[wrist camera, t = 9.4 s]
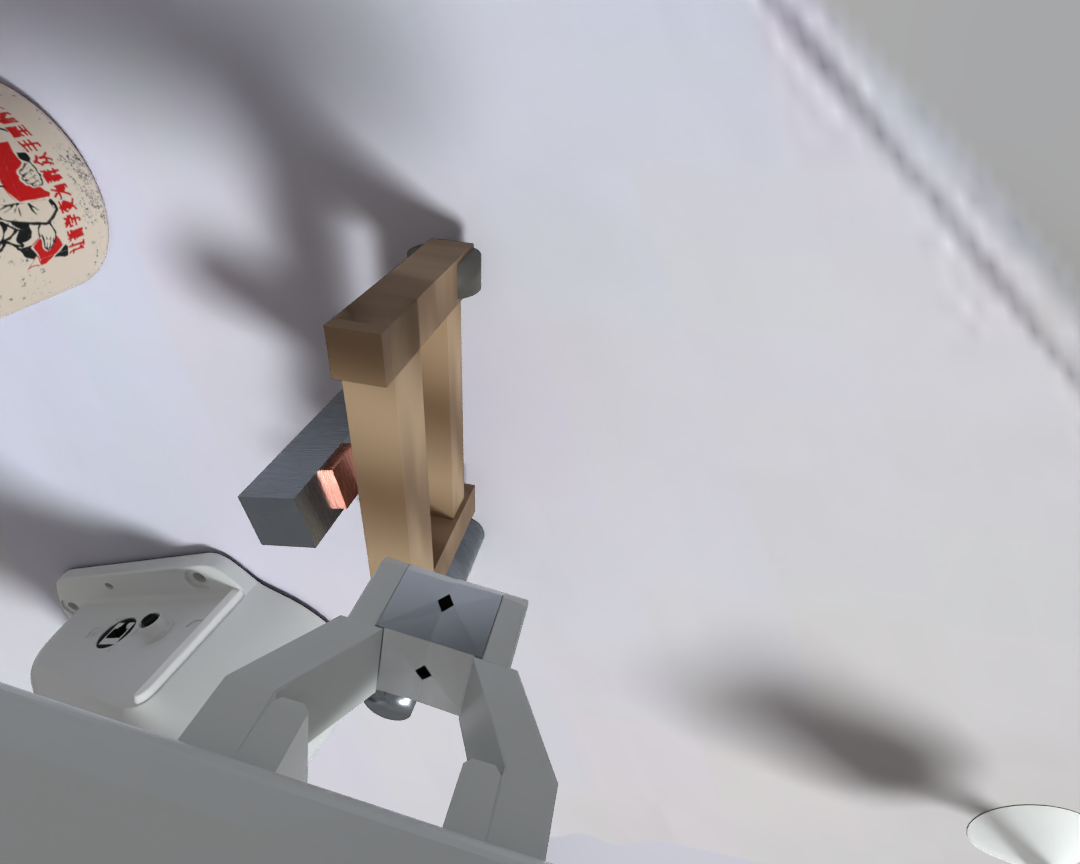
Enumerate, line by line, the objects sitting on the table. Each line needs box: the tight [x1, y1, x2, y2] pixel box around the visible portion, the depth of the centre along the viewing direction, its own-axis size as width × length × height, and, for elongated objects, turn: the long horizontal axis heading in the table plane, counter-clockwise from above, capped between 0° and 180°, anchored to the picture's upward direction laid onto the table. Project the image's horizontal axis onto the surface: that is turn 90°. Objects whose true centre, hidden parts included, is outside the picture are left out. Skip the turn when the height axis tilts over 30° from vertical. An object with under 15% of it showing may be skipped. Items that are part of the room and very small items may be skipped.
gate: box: [324, 238, 481, 578], centre depth 23 cm, size 13×3×8 cm, turn 177°
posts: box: [238, 389, 484, 720], centre depth 25 cm, size 3×11×10 cm, turn 8°
